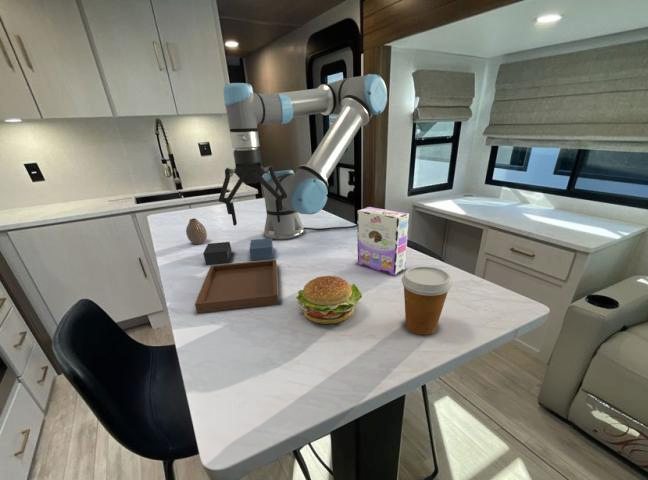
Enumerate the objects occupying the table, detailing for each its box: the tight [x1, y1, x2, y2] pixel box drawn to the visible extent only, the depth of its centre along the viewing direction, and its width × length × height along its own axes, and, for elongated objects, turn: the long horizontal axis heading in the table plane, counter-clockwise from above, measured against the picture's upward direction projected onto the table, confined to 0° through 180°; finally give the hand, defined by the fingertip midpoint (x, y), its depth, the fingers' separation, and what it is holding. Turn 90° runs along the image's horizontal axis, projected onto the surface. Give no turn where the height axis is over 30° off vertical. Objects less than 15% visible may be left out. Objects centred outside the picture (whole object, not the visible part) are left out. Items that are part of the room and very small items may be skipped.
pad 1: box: [202, 241, 233, 266], centre depth 104 cm, size 7×9×4 cm
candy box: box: [356, 206, 410, 276], centre depth 91 cm, size 14×6×16 cm, turn 47°
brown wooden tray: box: [194, 259, 280, 314], centre depth 85 cm, size 19×23×2 cm
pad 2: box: [249, 238, 275, 262], centre depth 106 cm, size 7×9×4 cm
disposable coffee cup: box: [401, 265, 453, 336], centre depth 65 cm, size 10×10×12 cm
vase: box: [185, 217, 208, 245], centre depth 117 cm, size 7×7×9 cm
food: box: [295, 275, 363, 325], centre depth 72 cm, size 14×14×8 cm
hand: (257, 222), depth 101 cm, fingers open, 13 cm apart
